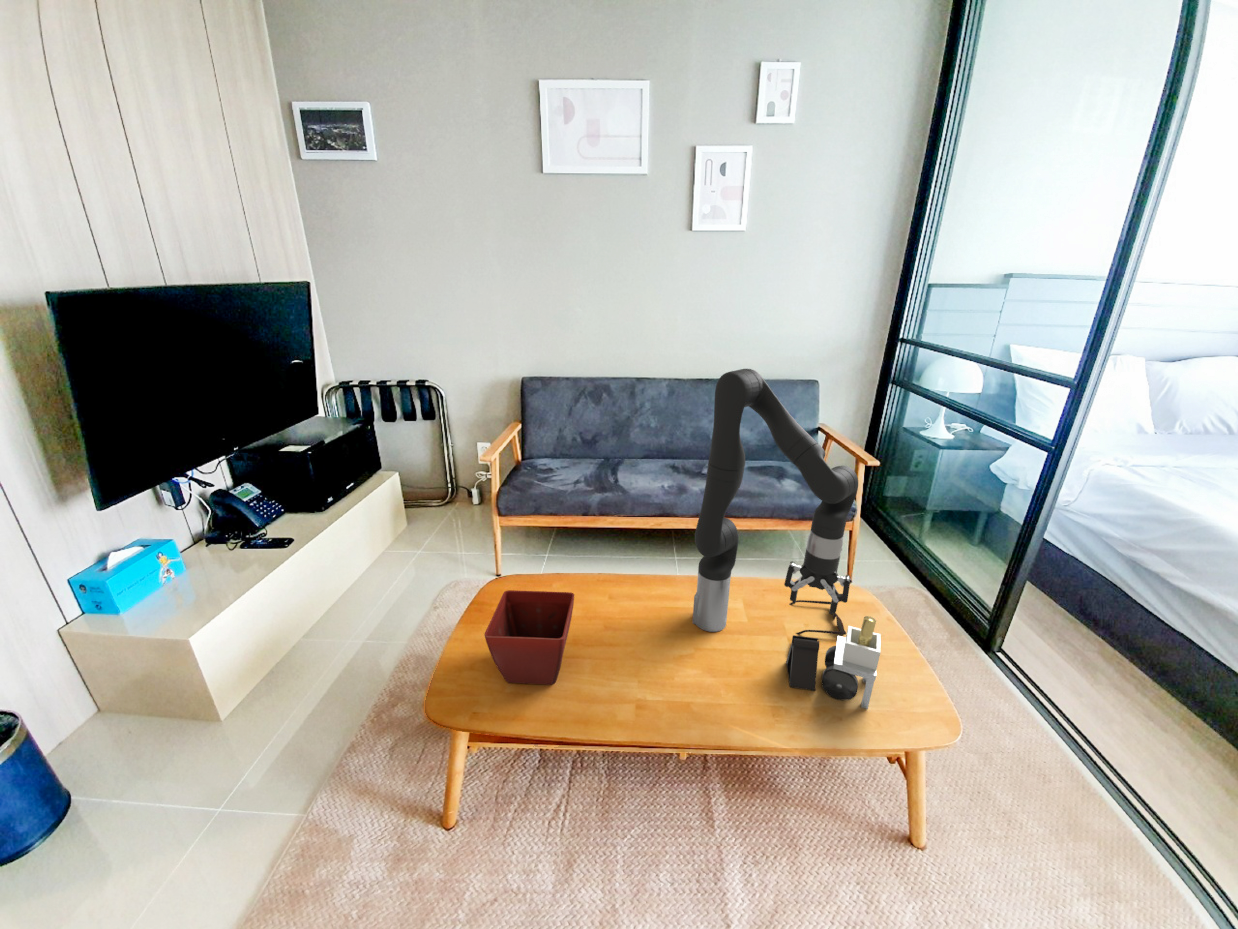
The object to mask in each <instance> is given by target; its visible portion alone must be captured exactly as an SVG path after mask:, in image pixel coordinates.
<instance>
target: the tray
mask: <svg viewBox="0 0 1238 929" xmlns="http://www.w3.org/2000/svg"><path fill="white" fill-rule="evenodd" d="M860 631H861V628H859V627H855V626H851V625H848V626H847V630H846V636H845V638H846V640H845V647H844V656H843V661H847V662H850V663H853V664H857V665H860V666H863V667H867V668H870V669H874V670H876V671H877V668H878V664H879V661H880V657H881V647H882V646H881V644H882V643H881V639H882V635H881V633H877V632H874V631H873V635H872V639H871V642H870V646H869V647H866V646H863V645H859V644H857V643H858V639H859V635H860Z"/></svg>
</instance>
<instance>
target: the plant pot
mask: <svg viewBox="0 0 1238 929" xmlns="http://www.w3.org/2000/svg"><path fill="white" fill-rule="evenodd" d="M574 604H575V594H574V593H573V592H569V591H546V590H545V591H544V590H542V591H541V590H539V591H538V590H514V589H513V590H512V589H511V590H508V589H507V590H505V591H504V592H503V593H502V595H501V598H500V600H499V602H498V604H497V607H496V609H495V611H494V612H493V616H492V617H491V619H490V621H489V623H488V625H487V628H486V629H485V632H484V638H485V642H486V645H487V648H488V651H489V653H490V655H491V658H492V660H493V662H494V664H495V666H496V668H497V669H498V671H499V673H500V674H501V676H502V678H503V679H504V680H505V681H506V682H507V683H509V684H510V683H511V684H532V685H554V684H555V683H556V682H557V680H558V678H559V674H560V670H561V666H562V663H563V662H562V661H563V657H564V651H565V647H566V644H567V641H568V636H569V633H570V632H569V631H570V626H571V622H572V616H573V609H574Z"/></svg>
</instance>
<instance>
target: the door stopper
mask: <svg viewBox="0 0 1238 929" xmlns="http://www.w3.org/2000/svg"><path fill="white" fill-rule="evenodd" d="M819 650H820V641H819V638H818V637H811V636H810V637H809V636H802V635H801V636H800V635H796V634H795V635H794V634H793V635H792V638H791V644H790V648H789V651H788V654H787V657H786V661H785V665H786V669H787V670H786V671H787V677H788V683H789V687H790V688H794V689H801V690H808V691H813V692H815V691H816V685H817V684H816V683H817V672H818V670H817V669H818V660H819V659H818V658H819Z"/></svg>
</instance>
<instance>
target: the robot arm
mask: <svg viewBox="0 0 1238 929" xmlns="http://www.w3.org/2000/svg"><path fill="white" fill-rule="evenodd" d="M714 390H715V391H714V404H713V406H714V407H713V408H714V409H713V411H714V412H713V427H712V428H713V429H712V435H711V444H710V450H709V457H708V464H707V469H706V479H705V486H704V492H703V498H702V503H701V509H700V512H699V517H698V520H697V524H696V526H695V532H694V542H695V547H696V549H697V550H698V553H700V555H702V557H701V558H700V560H699V563H698V567H697V568H698V569H697V571H698V572H697V580H696V581H697V583H696V584H697V585H696V592H695V594H694V595H693V596H694V597H693V610H692V611H693V612H692V622H691V623H692V624H693V625H696V626H697V627H698V628H699V629H700V630H702V631H706V632H710V633H717V632H721V631H722V630H724V629H725V628H726V626H727V618H728V610H729V607H728V606H729V599H730V598H729V596H730V587H731V579H732V578H731V577H732V570H733V569H734V568H735V564H736V560H737V554H738V548H739V532H738V529H737V526H736V524H735V523H734V522H733V521H732V520H731V519H729V518H727V517H725V516H726V512H727V511H728V509H729V507H730V505H731V503H732V502H733V500H734V499H735V497H736V495H737V494H738V491H739V489H740V488H741V485H742V482H743V478H744V474H745V473H744V472H745V467H746V452H745V449H744V446H743V442H742V440H741V434H740V433H741V432H740V429H741V423H742V418H743V413H744V409H745V408H747V407H748V408H750V409H752V410H753V411H754V412H756V414H758V415H759V416H760V417H761V419H763V421H764V422H765V424H766V425H767V428H768V430H769V431H770V434H771V436H772V438H773V441H774V443H775V445H776V446H777V447H778V449H779V450H780V451H781V452H782V454H783V455H784V456H785V457H786V458H787V459H788V460H789V461H790V462H791V463H792V464H793V465H794V466H795V467H796V468H797V469H798V470H799V472H800V474H801V476H802V478H803V479H804V481H805V482H806V485H807V486H808V487H809V489H810V490H811V492H812V493H813V494H814V496H815V497H816V498H818V499H819V500H820V504H819V505H818V506H817V507H816V508H815V510H814V511H813V512H814V513H813V514H812V520H811V526H810V531H809V534H808V536H807V537H808V538H807V541H806V548H805V552H804V557H803V564H802V565H798V564H796V562H794V561H793V560H792V561H790V562H789V564H788V568H787V572H786V576H785V580H784V583H783V584H784V587H786V588H789V589H790V595H789V601H791V603H793V604H792V605H795V604H796V603H797V602H796V601H797V596H798V592H799V589H801V588H804V587H805V586H809V588H816V589H818V590H821V591H823V590H825V591H826V592H827V594H828V596H830V598H831V600H830V602H831V604H830V607H829V612H828V614H829V615H833V613H837V610H838V604H839V603H840V602H842V603H847V602H848V600H849V593H850V592H849V591H850V587H851V586H850V585H851V576H850V575H847V574H846V575H845V576H842V575H838V569H839V564H840V559H841V555H842V551H843V546H844V534H845V530H846V525H847V519H848V515H849V513H850V511H851V509H852V507H853V504H854V502H855V499H856V497H857V493H858V490H859V479H858V474H857V473H856V472H855V470H854V469H853V468H851V467H850V466H847V465H837V466H834V467H832V468H831V467H830V466H829V465H828V463H827V462H826V460H825V458H826V451H825V449H824V448H823V447H822V445H821V444H819V442H818V441H816V439H814V438H813V437H812V435H810V434H809V433H808V432H807V431H806V430H805V429H804V428H803V426H801V425H800V424H799V422H797V420H796V419H795V418H794V417H793V415H791V413H790V412H789V411H788V409H787V408H786V407H785V405H783V403H782V402H781V401H780V399H779V398H778V396H776V394H775V393H774V391H773V390H772V389H771V387H770V386H769V384H768V383H767V382H766V380H765V379H764V378H763V377H762V375H761V374H760V373H759V372H758V371H756V370H754V369H752V368H740V369H737V370H731V371H728V372H725V373H723V374H722V375H720V377H719V378H718V380H717V382H716V385H715V389H714ZM797 572H799V573H800V574H801V576H799V578H798V579H796V580H794V581H793V580H792V578H793V574H794V575H795V574H797ZM837 582H839V584H840V586H841V587H843V588H842V593H839V592H838V590H837V588H836V585H835V583H837ZM795 602H796V603H795Z"/></svg>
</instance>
